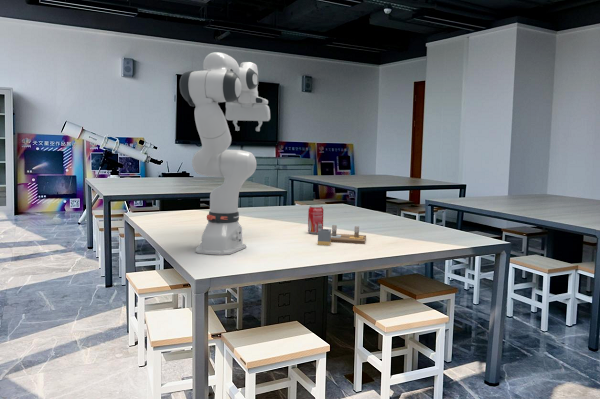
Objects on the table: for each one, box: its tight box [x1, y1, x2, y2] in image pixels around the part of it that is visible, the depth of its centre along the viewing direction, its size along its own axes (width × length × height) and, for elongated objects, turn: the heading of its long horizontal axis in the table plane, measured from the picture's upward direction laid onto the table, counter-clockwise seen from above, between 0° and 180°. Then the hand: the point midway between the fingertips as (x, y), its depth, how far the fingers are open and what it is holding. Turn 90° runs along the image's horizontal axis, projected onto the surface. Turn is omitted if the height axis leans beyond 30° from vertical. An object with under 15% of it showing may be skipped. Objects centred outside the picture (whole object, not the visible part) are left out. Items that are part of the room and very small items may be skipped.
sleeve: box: [317, 228, 332, 246], centre depth 212 cm, size 5×5×6 cm
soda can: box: [307, 204, 324, 235], centre depth 236 cm, size 7×7×13 cm
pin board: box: [331, 224, 367, 245], centre depth 222 cm, size 14×18×6 cm
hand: (247, 130), depth 226 cm, fingers open, 8 cm apart
